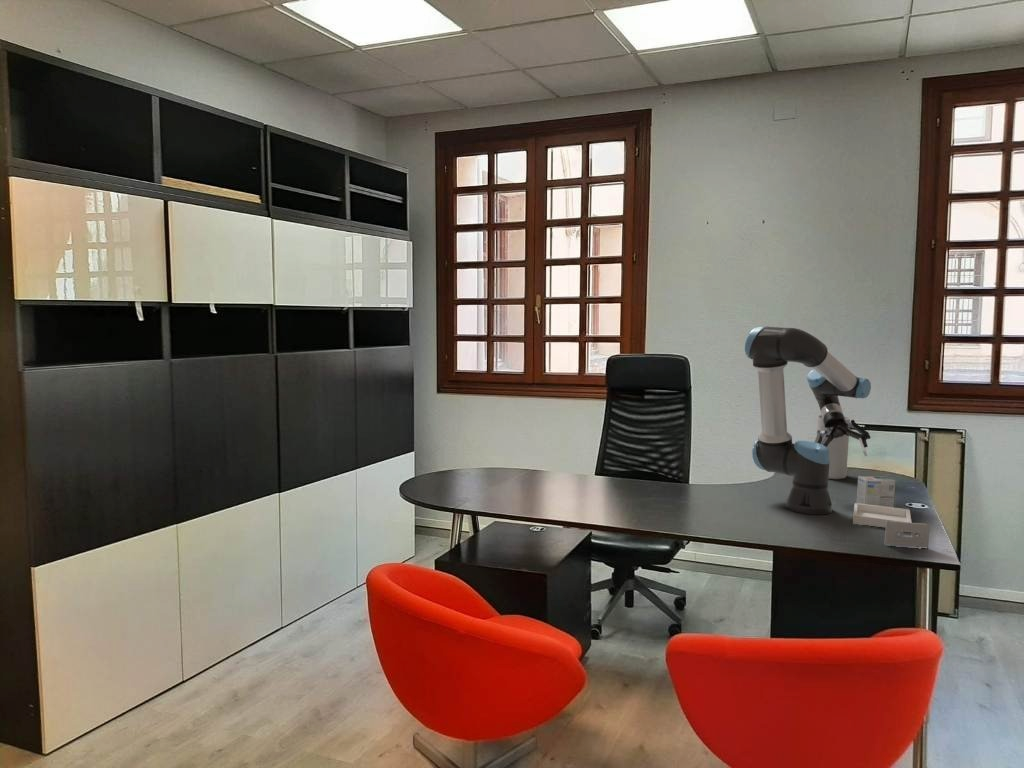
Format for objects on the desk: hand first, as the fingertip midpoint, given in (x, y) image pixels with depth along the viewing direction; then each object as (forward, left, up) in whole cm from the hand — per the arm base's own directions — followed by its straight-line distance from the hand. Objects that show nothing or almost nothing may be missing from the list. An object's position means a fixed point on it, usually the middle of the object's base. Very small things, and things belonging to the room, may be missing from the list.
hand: (845, 459), depth 267 cm
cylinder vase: (+24, +38, -17) cm, 48 cm away
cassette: (-13, -45, -17) cm, 49 cm away
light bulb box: (+9, -6, -17) cm, 20 cm away
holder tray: (-1, -21, -17) cm, 26 cm away
